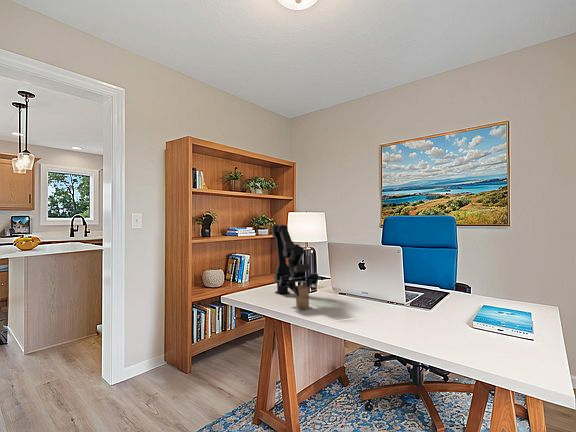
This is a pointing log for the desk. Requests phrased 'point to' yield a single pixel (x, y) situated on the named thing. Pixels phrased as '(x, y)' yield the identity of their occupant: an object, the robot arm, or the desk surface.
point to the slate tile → (302, 309)
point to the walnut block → (302, 297)
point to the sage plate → (322, 303)
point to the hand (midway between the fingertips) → (303, 295)
